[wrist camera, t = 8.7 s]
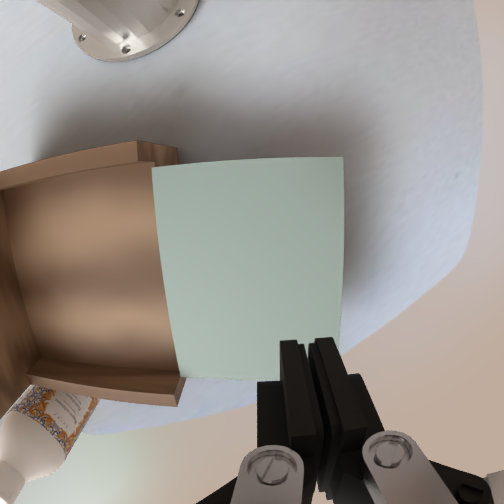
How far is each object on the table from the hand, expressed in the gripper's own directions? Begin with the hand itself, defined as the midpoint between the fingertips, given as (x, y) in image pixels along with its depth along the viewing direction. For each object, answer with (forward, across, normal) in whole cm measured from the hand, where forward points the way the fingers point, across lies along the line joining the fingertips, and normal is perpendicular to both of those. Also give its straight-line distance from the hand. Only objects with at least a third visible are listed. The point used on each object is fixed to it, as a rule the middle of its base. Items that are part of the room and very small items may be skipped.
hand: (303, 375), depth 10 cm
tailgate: (+12, +8, +1) cm, 14 cm away
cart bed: (+18, +16, +1) cm, 24 cm away
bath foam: (+18, +23, +15) cm, 32 cm away
